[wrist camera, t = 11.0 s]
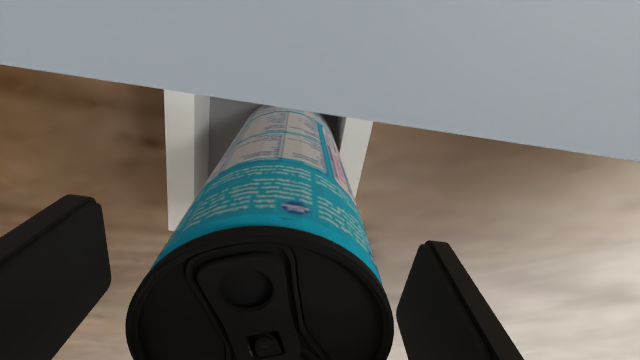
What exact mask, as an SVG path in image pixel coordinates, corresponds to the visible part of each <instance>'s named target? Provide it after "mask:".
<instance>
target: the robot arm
mask: <svg viewBox="0 0 640 360" xmlns="http://www.w3.org/2000/svg"><path fill="white" fill-rule="evenodd" d="M110 283H111V271H110V264H109V257H108V250H107V242H106V235H105V228H104V221H103V214H102V208H101V205H100V204H99V203H96V201H95V199H94V198H92V197H87V196H79V195H66V196H64V197H62V198H61V199H59V200H58V201H56V202H55V203H53V204H52V205H50V206H48V207H47V208H45V209H44V210H42V211H41V212H39V213H38V214H36V215H35V216H33V217H31V218H30V219H28V220H27V221H25V222H24V223H22V224H21V225H19V226H18V227H16V228H15V229H13V230H11V231H10V232H8V233H7V234H5V235H4V236H2V237H1V238H0V360H51V359H52V358H53V357H54V356H55V354H56V353H57V352H58V351H59V349H60V348H61V347H62V346H63V344H64V343H65V342H66V341H67V339H68V338H69V337H70V336H71V334H72V333H73V332H74V331H75V330H76V328H77V327H78V326H79V325H80V323H81V322H82V321H83V320H84V318H85V317H86V316H87V315H88V313H89V312H90V311H91V310H92V308H93V307H94V306H95V305H96V303H97V302H98V301H99V300H100V298H101V297H102V296H103V295H104V293H105V292H106V291H107V289H108V288H109V286H110ZM396 318H397V322H398V326H399V329H400V333H401V336H402V339H403V343H404V346H405V349H406V353H407V356H408V360H524V359H523V357H522V356H521V354H520V353H519V351H518V350H517V348H516V346H515V345H514V343H513V342H512V340H511V339H510V337H509V336H508V334H507V333H506V331H505V330H504V328H503V327H502V325H501V323H500V322H499V320H498V319H497V317H496V316H495V314H494V313H493V311H492V310H491V308H490V307H489V305H488V304H487V302H486V300H485V299H484V297H483V296H482V294H481V293H480V291H479V290H478V288H477V287H476V285H475V284H474V282H473V281H472V279H471V277H470V276H469V274H468V273H467V271H466V270H465V268H464V267H463V265H462V264H461V262H460V261H459V259H458V258H457V256H456V254H455V253H454V251H453V250H452V248H451V247H450V245H449V244H448V243H446V242H438V241H430V240H428V241H427V242H426V243H425V244H421V245H420V246H419V248H418V251H417V254H416V256H415V259H414V262H413V265H412V268H411V270H410V273H409V276H408V279H407V281H406V284H405V287H404V290H403V293H402V295H401V298H400V301H399V304H398V307H397V311H396Z"/></svg>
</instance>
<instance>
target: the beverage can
mask: <svg viewBox="0 0 640 360" xmlns="http://www.w3.org/2000/svg"><path fill="white" fill-rule="evenodd" d="M393 336H394V321H393V315H392V311H391V307H390V304H389V301H388V298H387V295H386V293H385V291H384V288H383V286H382V282H381V279H380V275H379V272H378V269H377V266H376V263H375V260H374V257H373V253H372V250H371V247H370V244H369V241H368V238H367V235H366V232H365V229H364V226H363V223H362V220H361V217H360V214H359V211H358V208H357V205H356V202H355V199H354V196H353V193H352V190H351V187H350V184H349V181H348V178H347V175H346V172H345V169H344V166H343V164H342V161H341V158H340V155H339V152H338V149H337V146H336V143H335V140H334V138H333V134H332V131H331V128H330V126H329V125H328V123H327V121H326V119H325V118H324V117H323V116H322V115H321V114H320V113H316V112H309V111H302V110H296V109H289V108H283V107H276V106H270V105H263V106H261V107H259V108H258V109H257V110H255V111H254V112H253V113H252V114H251V115H250V116H249V118H248V119H247V120H246V122H245V124H244V125H243V127H242V128H241V130H240V131H239V133H238V134H237V136H236V138H235V139H234V141H233V142H232V144H231V145H230V147H229V148H228V150H227V151H226V153H225V154H224V156H223V157H222V159H221V160H220V162H219V163H218V165H217V166H216V168H215V169H214V171H213V172H212V174H211V175H210V177H209V178H208V180H207V181H206V183H205V184H204V186H203V188H202V189H201V191H200V192H199V194H198V195H197V197H196V198H195V200H194V201H193V203H192V205H191V206H190V208H189V209H188V211H187V212H186V214H185V215H184V217H183V218H182V220H181V222H180V223H179V225H178V226H177V228H176V229H175V231H174V233H173V234H172V236H171V237H170V239H169V240H168V242H167V244H166V245H165V247H164V248H163V250H162V252H161V253H160V255H159V256H158V258H157V260H156V261H155V263H154V264H153V266H152V267H151V269H150V271H149V272H148V274H147V275H146V276H145V278H144V279H143V281H142V282H141V284H140V285H139V287H138V289H137V290H136V292H135V294H134V296H133V297H132V300H131V302H130V305H129V308H128V312H127V316H126V339H127V344H128V347H129V350H130V353H131V356H132V357H133V359H134V360H387V357H388V355H389V353H390V350H391V347H392V342H393Z"/></svg>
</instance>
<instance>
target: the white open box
mask: <svg viewBox="0 0 640 360" xmlns="http://www.w3.org/2000/svg"><path fill="white" fill-rule="evenodd" d="M0 64H1V65H7V66H14V67H21V68H27V69H34V70H40V71H47V72H53V73H60V74H66V75H73V76H80V77H86V78H93V79H99V80H106V81H112V82H119V83H125V84H132V85H139V86H145V87H152V88H158V89H164V108H165V138H166V168H167V198H168V228H169V231H175V229H176V228H177V226H178V225H179V223H180V222H181V220H182V218H183V217H184V215H185V214H186V212H187V211H188V209H189V208H190V206H191V205H192V203H193V201H194V200H195V198H196V197H197V195H198V194H199V192H200V191H201V189H202V188H203V186H204V184H205V183H206V181H207V180H208V178H209V177H210V175H211V174H212V172H213V171H214V169H215V168H216V166H217V165H218V163H219V162H220V160H221V159H222V157H223V156H224V154H225V153H226V151H227V150H228V148H229V147H230V145H231V144H232V142H233V141H234V139H235V138H236V136H237V134H238V133H239V131H240V130H241V128H242V127H243V125H244V124H245V122H246V120H247V119H248V118H249V116H250V115H251V114H252V113H253V112H254V111H255V110H257V109H258V108H259V107H261V106H263V105H270V106H276V107H283V108H289V109H296V110H302V111H309V112H316V113H320V114H321V115H322V116H323V117H324V118H325V119H326V121H327V123H328V125H329V126H330V128H331V131H332V134H333V138H334V140H335V143H336V146H337V149H338V152H339V155H340V158H341V161H342V164H343V166H344V169H345V172H346V175H347V178H348V181H349V184H350V187H351V190H352V193H353V196H354V199H355V197H356V193H357V189H358V185H359V180H360V176H361V172H362V168H363V163H364V159H365V155H366V151H367V146H368V142H369V138H370V134H371V129H372V125H373V121H374V122H381V123H388V124H394V125H401V126H407V127H414V128H420V129H427V130H433V131H440V132H447V133H453V134H460V135H466V136H473V137H479V138H486V139H492V140H499V141H506V142H512V143H519V144H525V145H532V146H538V147H545V148H551V149H558V150H565V151H571V152H578V153H584V154H591V155H597V156H604V157H610V158H617V159H624V160H630V161H637V162H640V0H0Z"/></svg>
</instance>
